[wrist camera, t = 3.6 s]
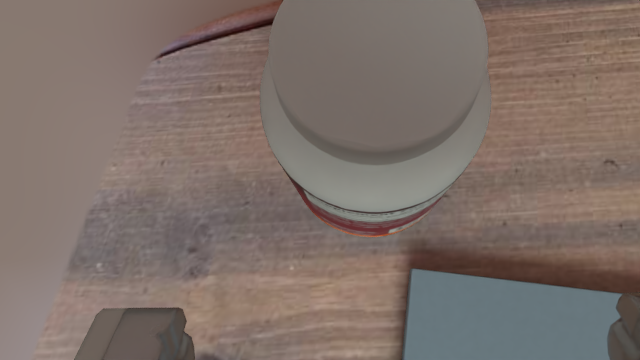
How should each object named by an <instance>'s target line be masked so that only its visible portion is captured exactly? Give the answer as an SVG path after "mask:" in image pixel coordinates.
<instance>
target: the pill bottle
mask: <svg viewBox="0 0 640 360" xmlns="http://www.w3.org/2000/svg"><path fill="white" fill-rule="evenodd" d="M487 60H488V37H487V31H486V27H485V23H484V19H483V16H482V14H481V12H480V10H479V8H478V6H477V4H476V2H475V0H283V2H282V3H281V5H280V7H279V9H278V11H277V14H276V16H275V19H274V21H273V24H272V28H271V32H270V39H269V56H268V58H267V61H266V64H265V67H264V70H263V74H262V79H261V86H260V111H261V118H262V124H263V128H264V131H265V134H266V137H267V140H268V142H269V145H270V147H271V149H272V151H273V153H274V155H275V157H276V158H277V160H278V162H279V163H280V165H281V166H282V168H283V169H284V171H285V172H286V174H287V175H288V177H289V178H290V180H291V181H292V183H293V185H294V186H295V188H296V189H297V191H298V192H299V194H300V195H301V197H302V199H303V200H304V202H305V203H306V205H307V206H308V207H309V208H310V209H311V211H312V212H313V213H314V214H315V215H316V216H317V217H318V218H320V219H321V220H322V221H324V222H325V223H326V224H328V225H330V226H331V227H333V228H335V229H337V230H339V231H342V232H345V233H348V234H351V235H356V236H362V237H379V236H386V235H390V234H394V233H397V232H400V231H402V230H404V229H406V228H408V227H410V226H412V225H414V224H415V223H417V222H418V221H420V220H421V219H422V218H423V217H424V216H426V215H427V214H428V213H429V212H430V211H431V209H432V208H433V207H434V206H435V205H436V203H437V202H438V201H439V200H440V199H441V198H442V196H443V195H444V194H445V193H446V191H447V190H448V189H449V188H450V186H451V185H452V184H453V183H454V182H455V181H456V180H457V179H458V178H459V176H460V175H461V174H462V173H463V171H464V170H465V169H466V168H467V166H468V165H469V163H470V162H471V160H472V159H473V158H474V156H475V154H476V152H477V151H478V149H479V147H480V145H481V143H482V141H483V138H484V136H485V133H486V130H487V126H488V123H489V117H490V111H491V86H490V79H489V74H488V69H487Z"/></svg>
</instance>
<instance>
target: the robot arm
mask: <svg viewBox="0 0 640 360" xmlns="http://www.w3.org/2000/svg"><path fill="white" fill-rule="evenodd" d="M616 310H617V312H618V313H619V315H620V318H619V319H618V320H617V321H615V322H614V323H613V324H611V325H610V328H609V332H608V336H607V346H608V355H609V358H610V360H640V292H635V293H624V294H623V295H622V296H621V297H620V298H619V299H618V302H617V305H616ZM186 322H187V321H186V318H185V315H184V312H183V309H181V308H115V309H102V310H101V311H100V312H99V313H98V314H97V315H96V317H95V319H94V321H93V323H92V325H91V327H90V329H89V331H88V333H87V335H86V337H85V339H84V341H83V343H82V345H81V347H80V349H79V351H78V353H77V355H76V357H75V359H74V360H195V352H194V345H193V341H192V338H191V337H190V336H189V335H188V334H187V333H185V332H184V328H185V325H186Z"/></svg>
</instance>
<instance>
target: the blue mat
mask: <svg viewBox="0 0 640 360" xmlns="http://www.w3.org/2000/svg"><path fill="white" fill-rule="evenodd" d="M622 295H623V293H615V292H607V291H598V290H590V289H582V288H573V287H565V286H557V285H548V284H540V283H532V282H523V281H515V280H507V279H499V278H490V277H482V276H474V275H465V274H457V273H449V272H440V271H432V270H424V269H415V268H412V269H410V273H409V284H408V295H407V307H406V318H405V329H404V340H403V351H402V360H610V358H609V355H608V346H607V336H608V332H609V328H610V325H611V324H613V323H614V322H615V321H617V320H618V319H619V318H620V315H619V313H618V312H617V310H616V305H617V302H618V299H619V298H620V297H621V296H622Z"/></svg>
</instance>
